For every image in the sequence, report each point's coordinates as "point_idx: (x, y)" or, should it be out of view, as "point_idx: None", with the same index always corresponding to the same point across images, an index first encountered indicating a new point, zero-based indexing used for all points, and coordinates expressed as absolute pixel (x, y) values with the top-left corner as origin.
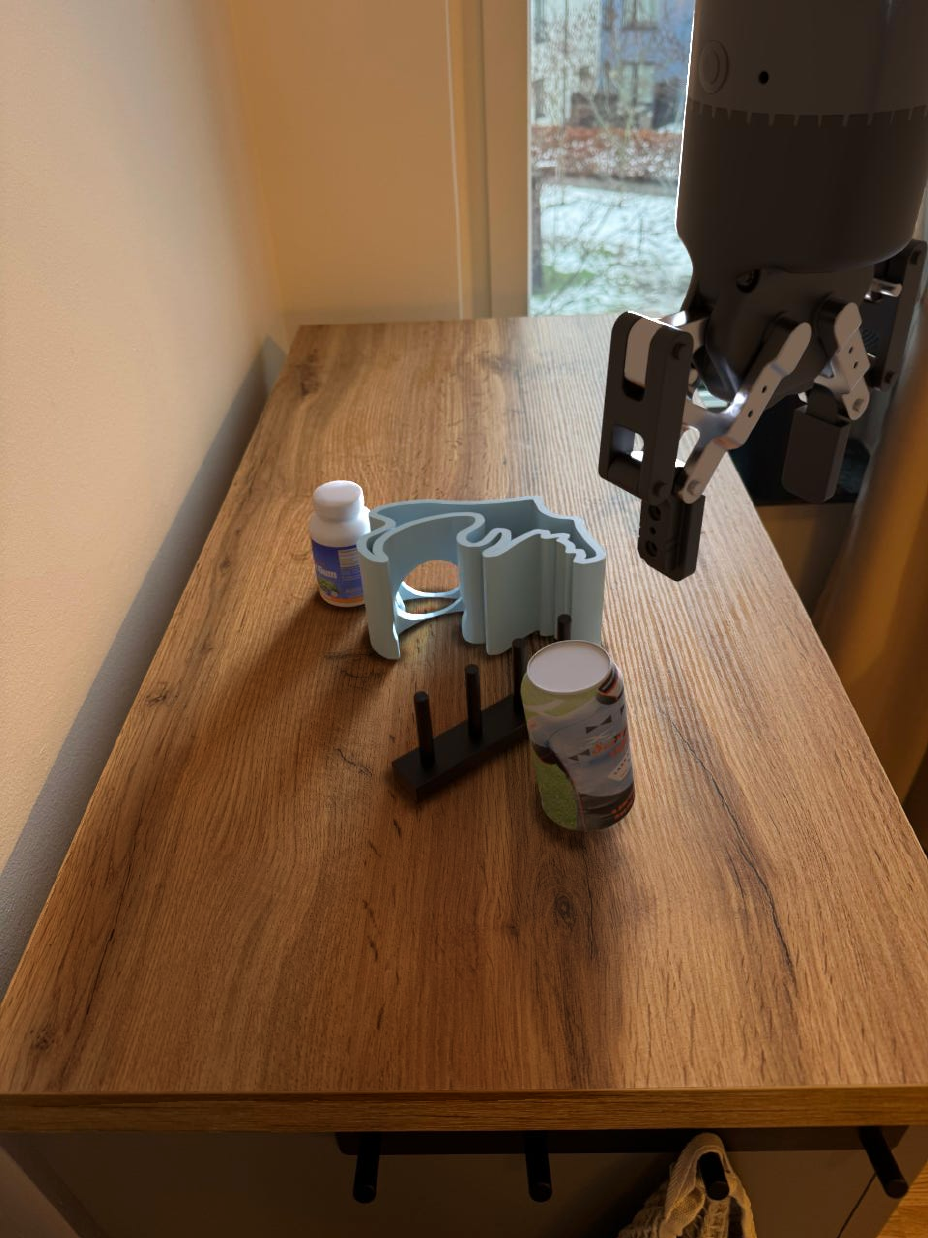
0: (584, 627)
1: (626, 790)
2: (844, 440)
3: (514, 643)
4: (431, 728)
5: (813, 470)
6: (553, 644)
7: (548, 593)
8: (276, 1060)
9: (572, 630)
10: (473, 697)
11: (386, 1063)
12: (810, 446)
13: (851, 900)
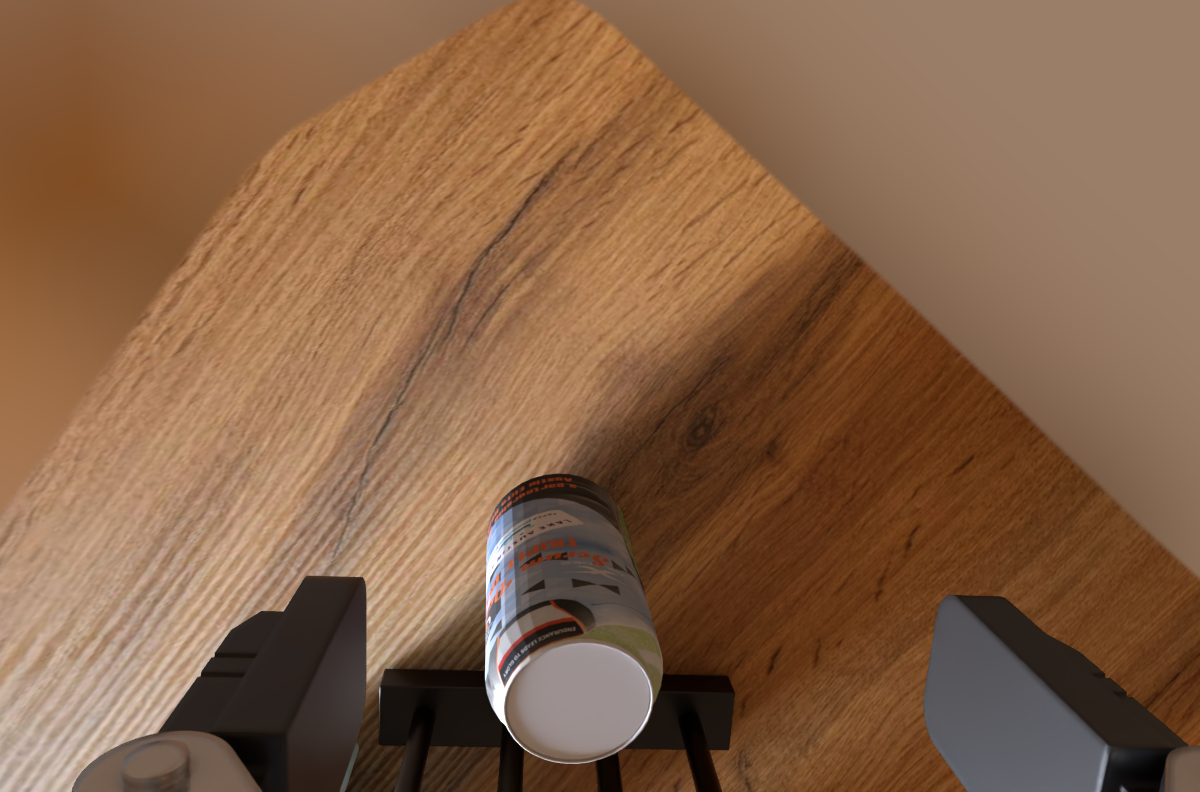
0: None
1: (544, 496)
2: (254, 688)
3: None
4: (695, 757)
5: (342, 677)
6: (551, 759)
7: None
8: (1073, 499)
9: (344, 789)
10: (616, 766)
11: (993, 418)
12: (324, 755)
13: (396, 178)
